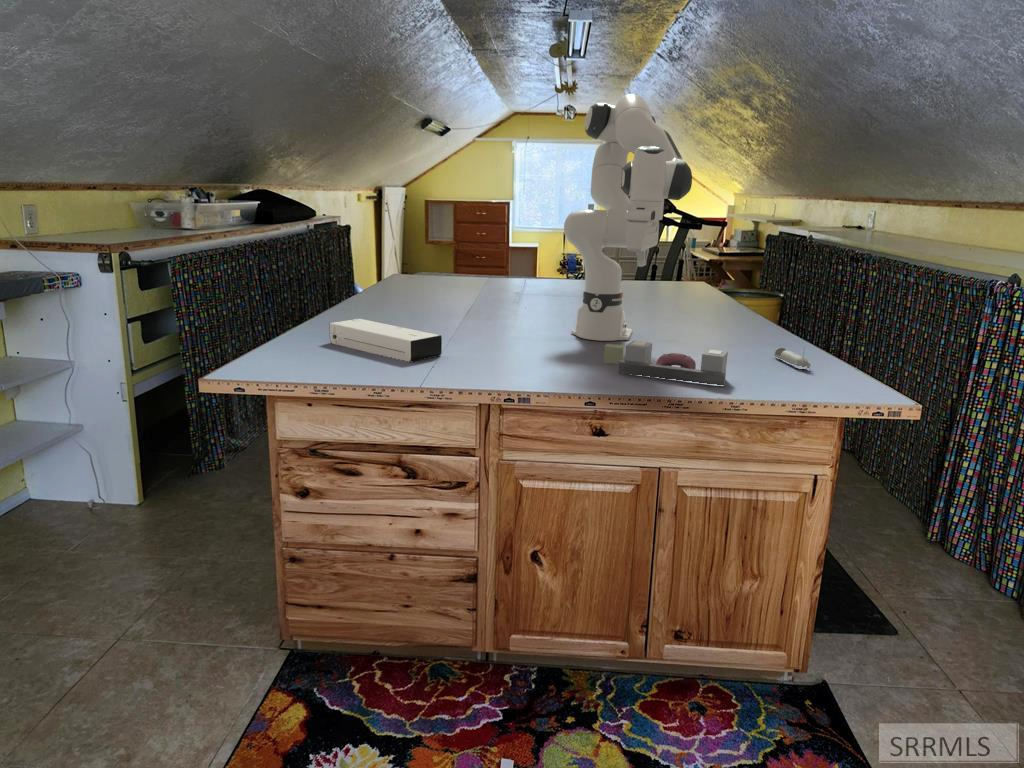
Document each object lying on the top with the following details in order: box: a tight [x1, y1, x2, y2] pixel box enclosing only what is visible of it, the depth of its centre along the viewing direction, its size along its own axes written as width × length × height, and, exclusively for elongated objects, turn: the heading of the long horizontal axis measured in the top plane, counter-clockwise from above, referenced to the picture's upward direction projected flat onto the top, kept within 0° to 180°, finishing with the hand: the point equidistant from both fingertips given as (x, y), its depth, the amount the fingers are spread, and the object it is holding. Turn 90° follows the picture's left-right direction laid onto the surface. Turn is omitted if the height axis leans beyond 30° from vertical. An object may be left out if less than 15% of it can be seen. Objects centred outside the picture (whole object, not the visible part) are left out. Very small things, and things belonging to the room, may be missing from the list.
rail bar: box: [618, 359, 727, 385], centre depth 180 cm, size 2×26×3 cm, turn 65°
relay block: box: [603, 343, 626, 364], centre depth 198 cm, size 4×5×4 cm
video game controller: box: [656, 352, 697, 369], centre depth 184 cm, size 10×5×7 cm, turn 72°
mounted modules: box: [624, 340, 729, 374], centre depth 184 cm, size 7×24×7 cm, turn 65°
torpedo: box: [773, 346, 813, 370], centre depth 200 cm, size 18×5×6 cm, turn 7°
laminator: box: [328, 318, 443, 363], centre depth 203 cm, size 34×12×6 cm, turn 51°
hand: (641, 266), depth 192 cm, fingers closed
